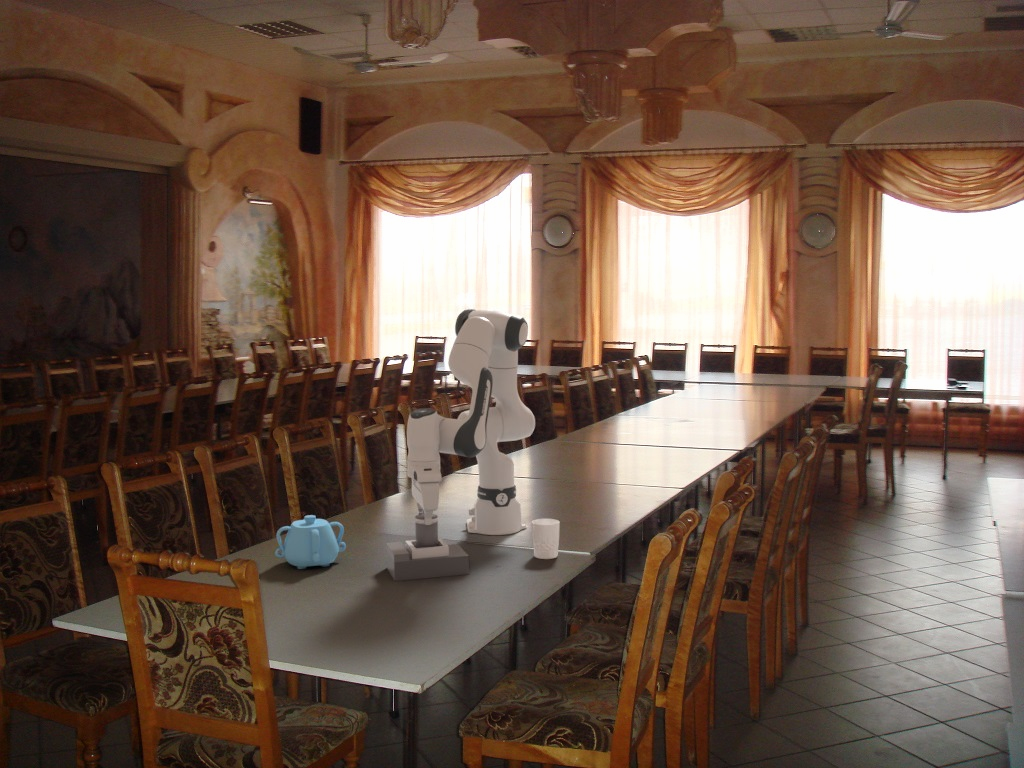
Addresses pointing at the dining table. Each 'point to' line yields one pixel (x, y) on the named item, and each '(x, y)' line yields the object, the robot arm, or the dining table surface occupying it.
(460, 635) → the dining table surface
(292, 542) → the decorative pot
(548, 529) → the white cup
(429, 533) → the lens
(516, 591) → the dining table surface
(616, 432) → the dining table surface
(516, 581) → the dining table surface
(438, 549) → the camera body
